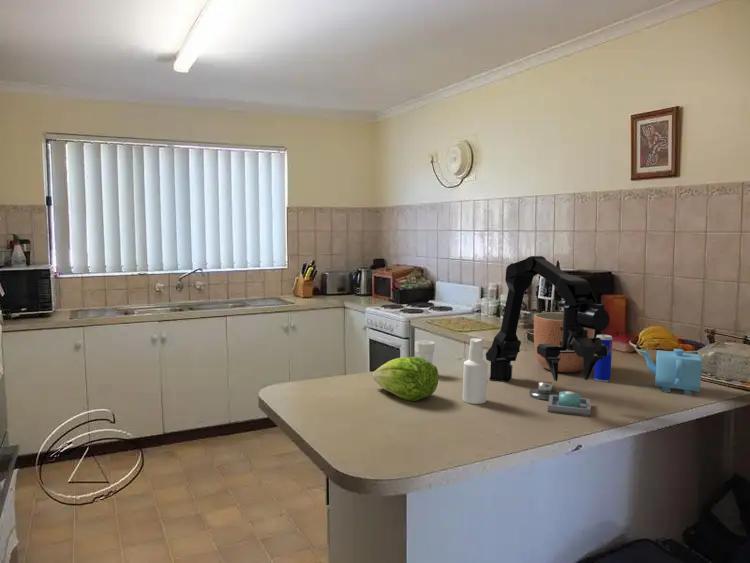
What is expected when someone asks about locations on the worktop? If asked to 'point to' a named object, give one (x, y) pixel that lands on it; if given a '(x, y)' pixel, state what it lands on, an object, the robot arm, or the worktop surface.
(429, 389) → the lettuce
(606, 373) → the beverage can
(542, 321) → the planter
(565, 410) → the tray
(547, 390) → the round metal saucer
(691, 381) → the teapot
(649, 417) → the worktop surface
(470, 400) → the spray bottle
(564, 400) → the teal rounded toy
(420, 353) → the cup
